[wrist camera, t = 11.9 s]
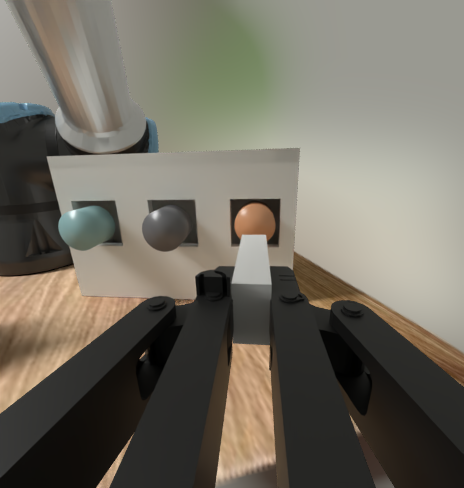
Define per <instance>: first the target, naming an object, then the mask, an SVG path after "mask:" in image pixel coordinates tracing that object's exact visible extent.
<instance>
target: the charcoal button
mask: <svg viewBox="0 0 464 488" xmlns="http://www.w3.org/2000/svg"><path fill="white" fill-rule="evenodd" d="M191 230H192V221H191V218H190V216H189V214H188V213H187V212H186V211H185V210H184V209H183V208H181V207H179V206H177V205H167V206H164V207H162V208H160V209H158V210H155V211H153V212H151V213H150V214H148V215H147V216H146V217H145V219H144V221H143V224H142V233H143V236H144V239H145V240H146V242H147V243H148V244H149V245H150V246H151V247H152V248H154V249H156V250H158V251H162V252H168V251H172V250H174V249H176V248H177V247H178V246H179V245H180V244H181V243H182V242H183V241H184V240H185V239H186V238H187V237H188V236H189V235H190V233H191Z"/></svg>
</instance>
